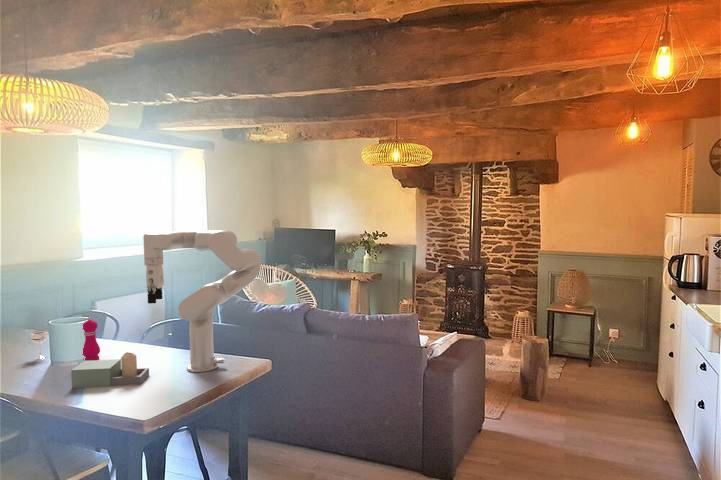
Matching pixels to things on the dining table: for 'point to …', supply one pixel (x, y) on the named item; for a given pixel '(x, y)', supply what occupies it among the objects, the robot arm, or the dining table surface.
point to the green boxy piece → (104, 374)
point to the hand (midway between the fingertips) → (155, 301)
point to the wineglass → (39, 340)
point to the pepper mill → (90, 340)
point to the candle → (129, 365)
